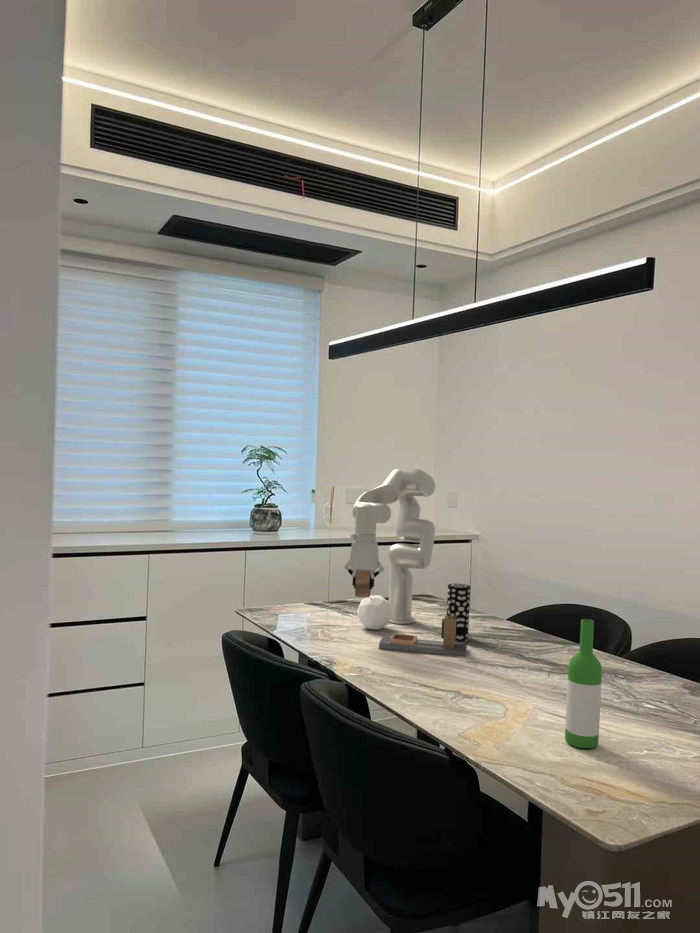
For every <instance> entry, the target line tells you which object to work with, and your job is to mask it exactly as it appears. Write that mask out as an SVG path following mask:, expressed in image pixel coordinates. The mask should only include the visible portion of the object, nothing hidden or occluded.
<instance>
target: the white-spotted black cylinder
mask: <svg viewBox="0 0 700 933" xmlns="http://www.w3.org/2000/svg"><path fill="white" fill-rule="evenodd" d="M446 599H447V600H446V616H457V618H456V639H455V643H461V642H462V643H463V642H467V641H469V626H470V625H469V623H470V606H471V604H470V602H471V586H470V585H469V584H463V583H448V584H447V598H446Z"/></svg>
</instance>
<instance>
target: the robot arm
mask: <svg viewBox="0 0 700 933" xmlns="http://www.w3.org/2000/svg"><path fill="white" fill-rule="evenodd" d="M435 489H436V483H435V480H434V477H432V475H430V474H429V473H427V472H426V471H424V470H422V469H418V468H404V467H401V468H400V467H398V468H395V469H393V470H392V471H391V472H390V473H389V474H388V476H387V477H386V479H385V480H384V481H383V482H382V484H381V485H379V486H376V487H374V488H372V489H369V490H368V491H364V493H362V495H360V496H359V497H358V499H356V501H355V503H354V505H353V507H352V517H353V518H354V520H355V529H354V530H355V531H354V533H353V534H351V535H350V539H353V540H354V541H352V543H351V548H350V554H349V560H348V561H347V562H346V563H345V564H344V566H343V569H345V570H346V571H347V572H348V573H349V575H350V576H351V577H352V586H353V589H355V586H356V570H364V571H370V575H371V577H370V585H369V589H370V590H371V591H372V590H373V588H375V579H376V577H377V576H379V575H380V574H381V573H383V572H384V571H385V568H384V566H383V565H382V564H381V562H380V561H379V546H378V542H377V541H376V540H377V539H376V538H377V537H376V536H377V535H376V534H377V524H381V525H382V524H385V523H388V521H389V520H390V519H391V515H392V510H391V508H390V506H389V505H390V504H393V503H395V502H397V501H398V503H399V512H398V517H397V522H396V523H397V524H396V532H395V535H396V538H397V539H398V540H399V541H404V542H411V543H419V544H420V545H419V544H410V543H395V544H392V545H391V546H390V547H389V549H388V564H389V583H388V584H389V587H388V602H389V603H390V607H391V611H392V616H391V618H390V621H389V623H390V624H398V625H408V624H413V623H415V622H416V619H415V617H413V616H412V604H413V587H414V586H413V585H414V579H413V574H412V572H411V571H410V569H416V570H426V569H428V568H429V567H430V565H431V562H432V556H433V555H432V554H433V550H434V543H435V534H436V528H435V525H434V523H433V522H432V521H431V520H429V519H421V518H420V513H421V506H420V504H419V502H418V500H417V499H416V498H415V497H424V498H425V497H430V496H432V495H433V494H434V493H435V491H436V490H435ZM376 570H377V571H376Z"/></svg>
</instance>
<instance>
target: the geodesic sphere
mask: <svg viewBox="0 0 700 933" xmlns="http://www.w3.org/2000/svg"><path fill="white" fill-rule="evenodd" d="M356 612H357V616H358V620H359V623H360V624H362V625H363V626H364V627H365V628H366V629H367V630H374V631H379V630H382V629H383V628H385V626H388V625H389V623H390V622H389V621H390V618H391V616H392V611H391V607H390V603H389V600H386V599H385V598H384V596H382V595H377V594H371V595H370V597H369V598H365V597H364V599H362V600H360V604H359V605H358V608H357V611H356Z"/></svg>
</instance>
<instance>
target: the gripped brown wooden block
mask: <svg viewBox="0 0 700 933" xmlns="http://www.w3.org/2000/svg"><path fill="white" fill-rule="evenodd" d="M370 577H371V575H370V571H364V570H356V586H355V590H354V597H357V598H364V599H365V598H369V597H370V595H372V594H371V591H372V589H371V590H370V589H369V585H370Z"/></svg>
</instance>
